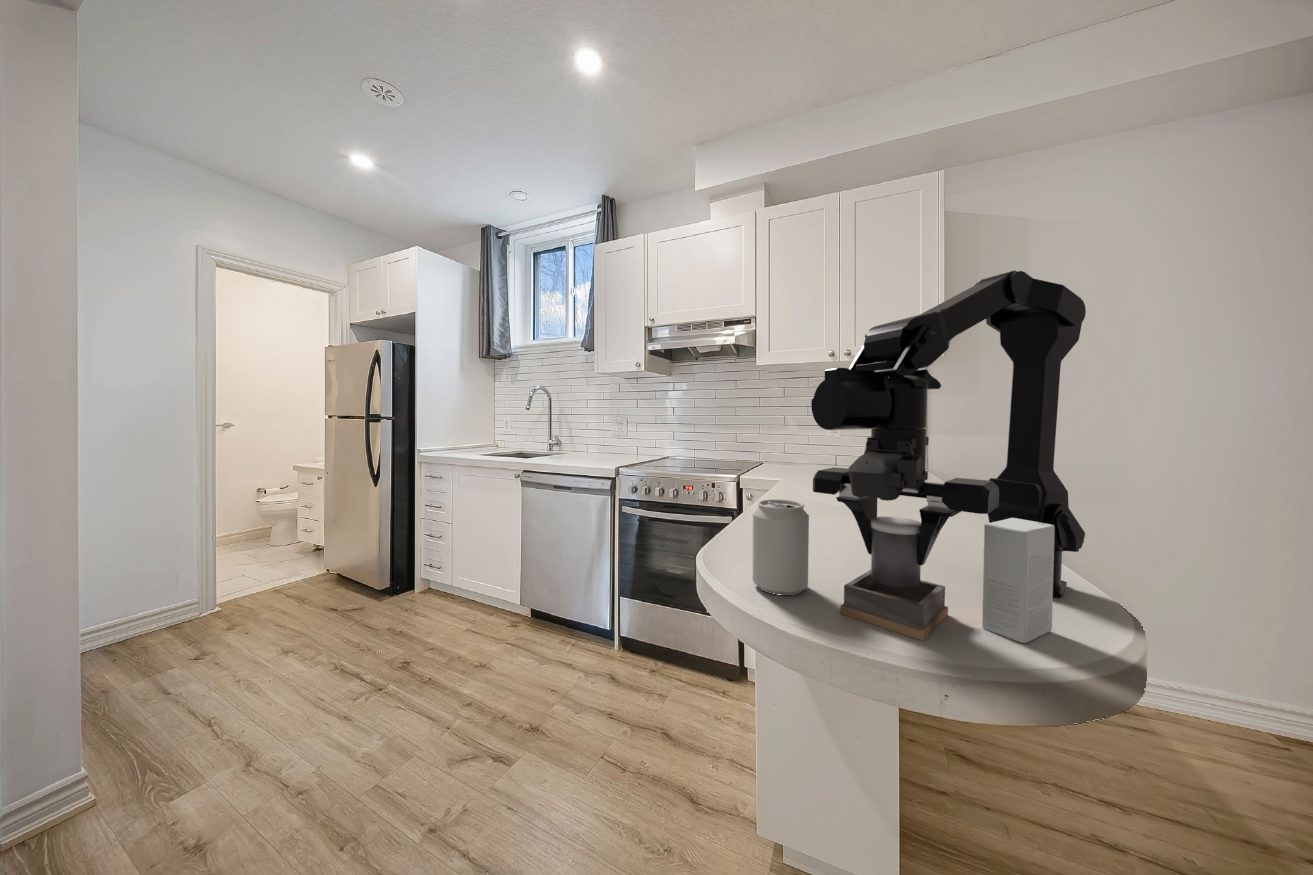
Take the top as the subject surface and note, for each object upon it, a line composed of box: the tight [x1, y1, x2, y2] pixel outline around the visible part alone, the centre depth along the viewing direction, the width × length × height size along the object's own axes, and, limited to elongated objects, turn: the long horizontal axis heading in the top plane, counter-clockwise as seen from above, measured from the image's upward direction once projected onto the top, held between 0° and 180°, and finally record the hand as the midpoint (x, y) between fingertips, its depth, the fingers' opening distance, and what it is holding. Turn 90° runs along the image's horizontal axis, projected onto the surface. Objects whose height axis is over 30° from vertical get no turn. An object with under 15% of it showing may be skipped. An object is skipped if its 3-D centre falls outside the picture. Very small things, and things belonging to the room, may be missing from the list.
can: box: [751, 498, 810, 596], centre depth 62 cm, size 8×8×12 cm
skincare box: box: [981, 518, 1055, 644], centre depth 49 cm, size 6×4×12 cm
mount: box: [839, 569, 949, 642], centre depth 54 cm, size 9×9×4 cm
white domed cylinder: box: [870, 516, 922, 588], centre depth 53 cm, size 5×5×7 cm
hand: (895, 558), depth 53 cm, fingers closed on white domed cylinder, 5 cm apart
